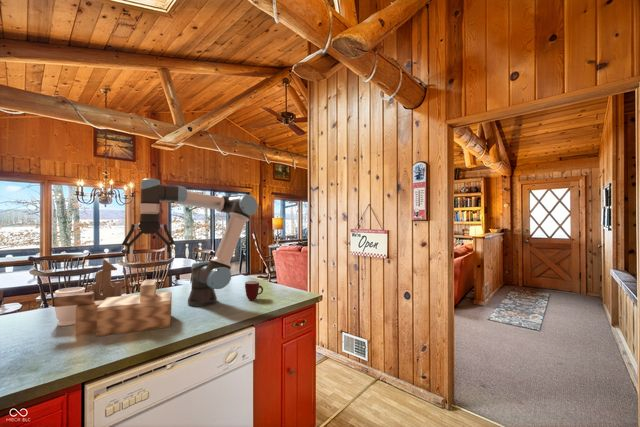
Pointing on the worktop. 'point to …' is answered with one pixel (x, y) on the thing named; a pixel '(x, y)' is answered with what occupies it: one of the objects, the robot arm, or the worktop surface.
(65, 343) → the worktop surface
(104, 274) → the wooden toy
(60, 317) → the jar
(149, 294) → the lid
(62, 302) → the wooden block
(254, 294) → the mug
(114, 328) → the toolbox
